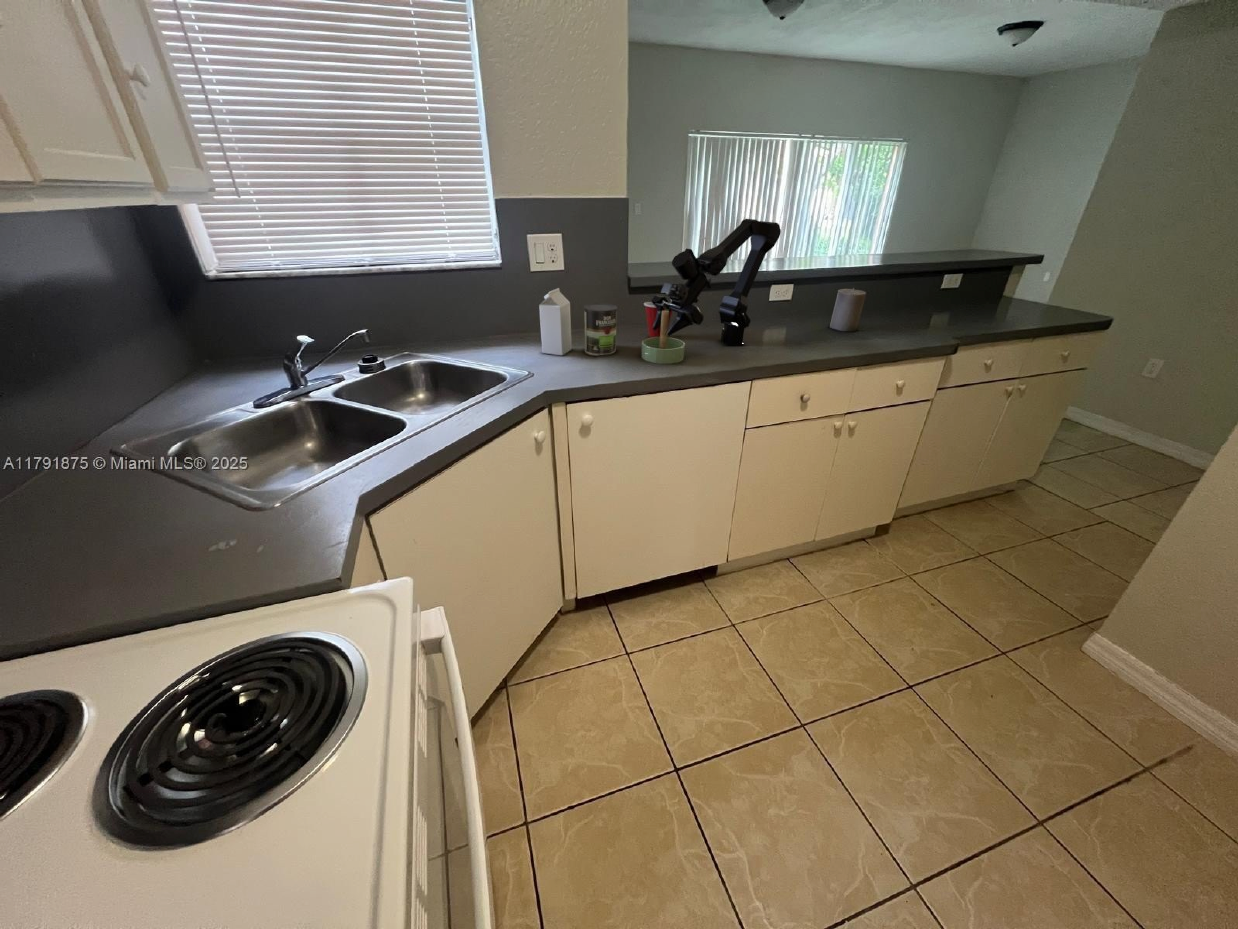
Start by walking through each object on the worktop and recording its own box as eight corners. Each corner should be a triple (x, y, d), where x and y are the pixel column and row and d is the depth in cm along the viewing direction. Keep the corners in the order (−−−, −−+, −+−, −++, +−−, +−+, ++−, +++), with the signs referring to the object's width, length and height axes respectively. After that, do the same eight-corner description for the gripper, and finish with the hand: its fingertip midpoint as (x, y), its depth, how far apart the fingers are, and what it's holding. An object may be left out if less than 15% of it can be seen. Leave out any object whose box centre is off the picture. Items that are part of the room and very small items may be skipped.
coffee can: (621, 353, 155) (622, 308, 148) (592, 358, 151) (592, 311, 144) (607, 344, 163) (608, 301, 156) (579, 348, 159) (578, 304, 152)
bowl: (679, 351, 158) (680, 336, 155) (687, 365, 147) (688, 349, 144) (638, 352, 157) (639, 336, 154) (644, 366, 146) (644, 349, 143)
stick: (668, 354, 154) (672, 309, 147) (671, 359, 150) (675, 313, 142) (653, 354, 153) (655, 309, 146) (655, 359, 149) (658, 313, 142)
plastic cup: (672, 334, 176) (675, 299, 170) (672, 342, 167) (675, 306, 161) (643, 332, 177) (644, 298, 171) (641, 341, 167) (642, 305, 161)
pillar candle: (853, 326, 190) (864, 286, 183) (858, 332, 182) (869, 291, 174) (827, 324, 192) (837, 284, 184) (831, 330, 184) (841, 289, 176)
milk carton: (571, 349, 158) (569, 288, 148) (562, 356, 152) (559, 293, 142) (551, 347, 160) (548, 286, 150) (542, 353, 154) (538, 291, 144)
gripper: (657, 267, 147) (627, 308, 147) (700, 276, 134) (667, 322, 134) (675, 291, 155) (646, 330, 155) (717, 302, 143) (686, 345, 143)
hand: (660, 331), depth 147 cm, fingers open, 6 cm apart
